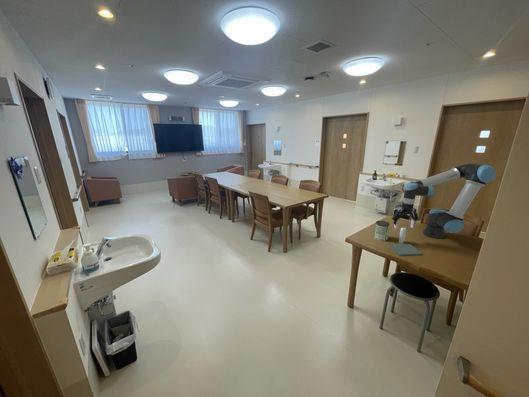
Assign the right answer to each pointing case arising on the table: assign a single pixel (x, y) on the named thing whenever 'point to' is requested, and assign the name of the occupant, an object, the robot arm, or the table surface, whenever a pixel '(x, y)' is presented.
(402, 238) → the chalk stick
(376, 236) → the coffee can
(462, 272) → the table surface
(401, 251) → the slate board
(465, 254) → the table surface
